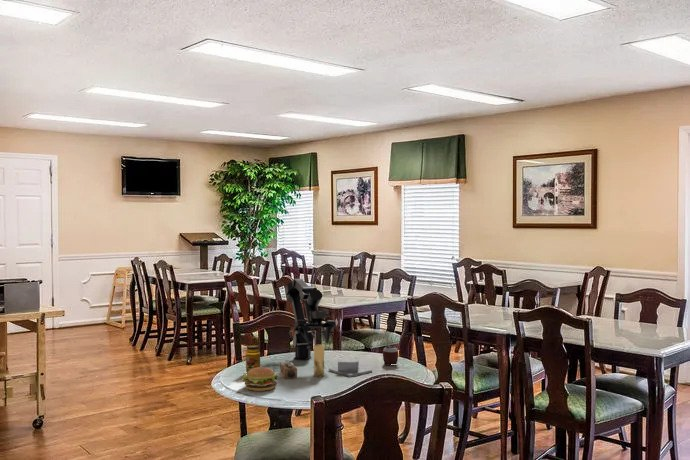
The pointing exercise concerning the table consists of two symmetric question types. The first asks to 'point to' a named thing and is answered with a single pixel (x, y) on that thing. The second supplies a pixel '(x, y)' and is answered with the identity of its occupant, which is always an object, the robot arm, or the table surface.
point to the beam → (288, 371)
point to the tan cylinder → (318, 360)
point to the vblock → (350, 368)
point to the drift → (288, 363)
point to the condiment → (252, 357)
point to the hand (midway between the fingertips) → (318, 342)
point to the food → (260, 379)
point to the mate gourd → (390, 354)
